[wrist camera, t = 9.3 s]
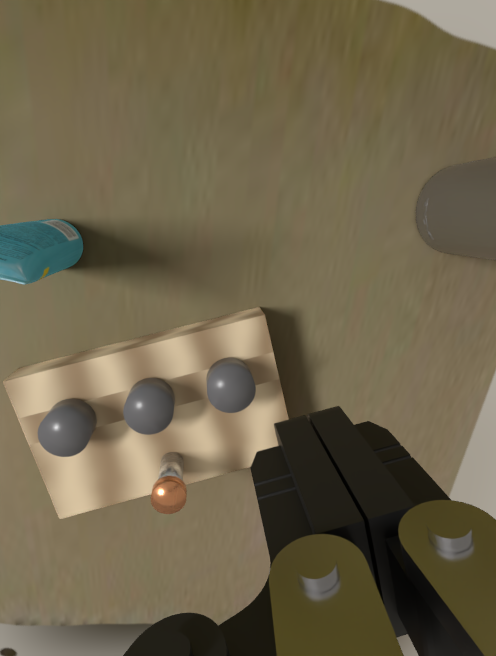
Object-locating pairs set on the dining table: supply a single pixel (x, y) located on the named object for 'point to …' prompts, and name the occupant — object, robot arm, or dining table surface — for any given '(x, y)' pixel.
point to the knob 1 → (67, 428)
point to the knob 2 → (230, 385)
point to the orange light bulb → (169, 485)
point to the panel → (188, 418)
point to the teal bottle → (37, 249)
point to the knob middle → (149, 406)
